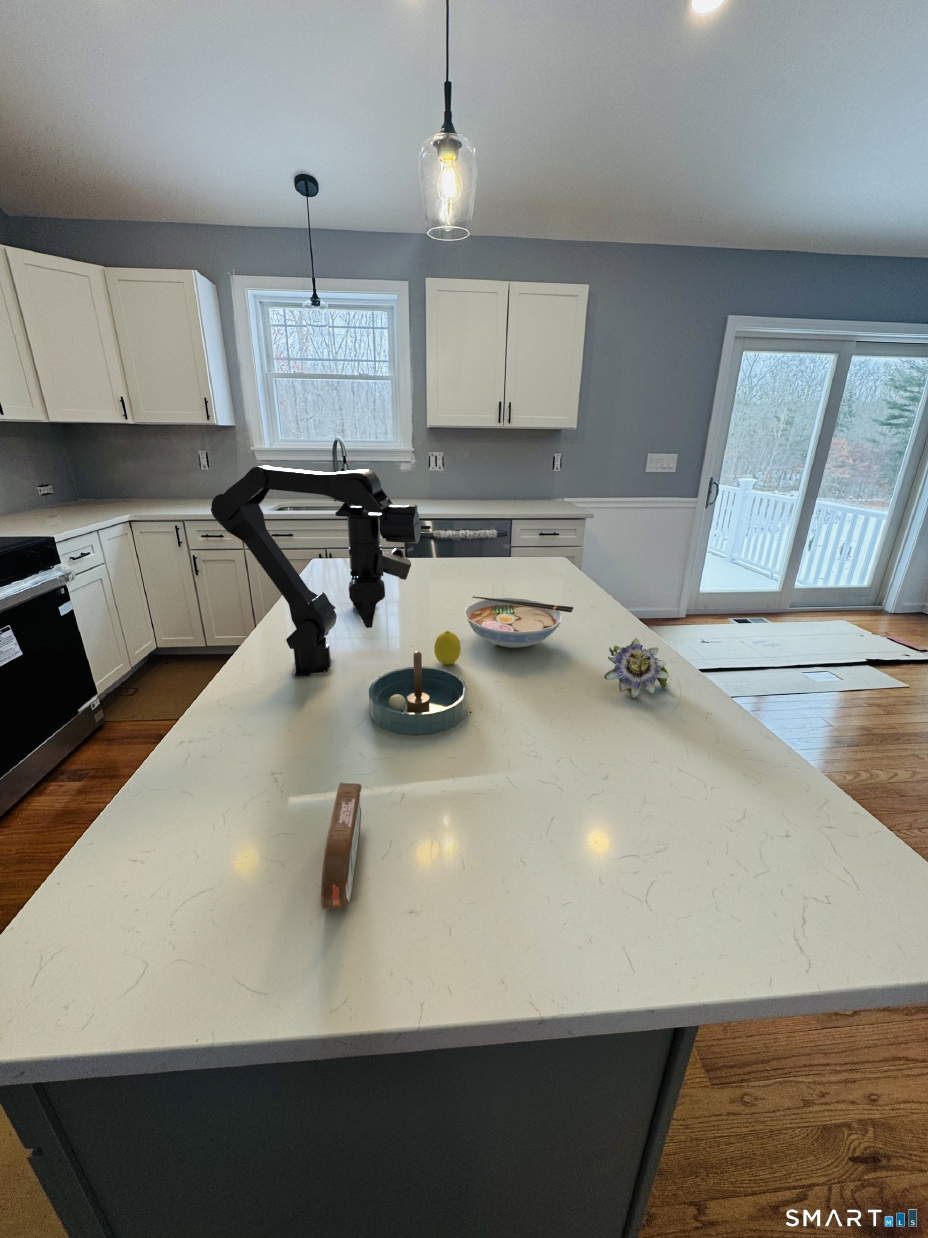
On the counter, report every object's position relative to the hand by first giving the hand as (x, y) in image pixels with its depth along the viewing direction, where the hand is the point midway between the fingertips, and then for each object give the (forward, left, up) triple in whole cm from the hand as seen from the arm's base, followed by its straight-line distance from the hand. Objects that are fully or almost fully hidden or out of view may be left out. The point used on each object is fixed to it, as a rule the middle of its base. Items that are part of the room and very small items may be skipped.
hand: (368, 618), depth 100 cm
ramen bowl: (+33, +11, -12) cm, 37 cm away
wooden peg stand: (+8, -16, -11) cm, 21 cm away
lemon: (+16, +1, -12) cm, 20 cm away
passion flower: (+51, -14, -12) cm, 54 cm away
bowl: (+8, -16, -12) cm, 22 cm away
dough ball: (+5, -16, -9) cm, 19 cm away
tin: (-4, -49, -12) cm, 51 cm away
